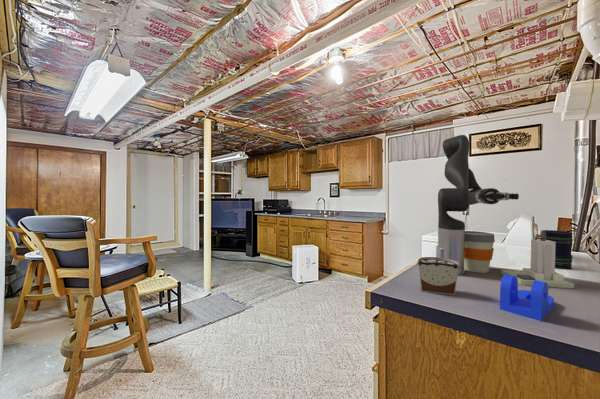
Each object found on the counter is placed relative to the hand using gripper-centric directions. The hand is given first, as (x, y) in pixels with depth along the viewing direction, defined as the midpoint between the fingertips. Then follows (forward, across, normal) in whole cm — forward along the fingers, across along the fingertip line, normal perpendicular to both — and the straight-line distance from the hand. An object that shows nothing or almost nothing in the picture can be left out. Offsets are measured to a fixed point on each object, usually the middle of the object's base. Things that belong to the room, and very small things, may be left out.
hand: (505, 196), depth 110 cm
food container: (+35, -35, +30) cm, 58 cm away
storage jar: (-8, +23, +30) cm, 39 cm away
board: (+17, +2, +30) cm, 34 cm away
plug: (+17, +4, +28) cm, 33 cm away
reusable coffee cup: (+6, -13, +30) cm, 33 cm away
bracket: (+42, -13, +30) cm, 54 cm away
